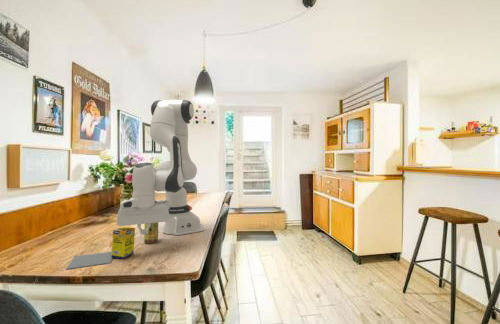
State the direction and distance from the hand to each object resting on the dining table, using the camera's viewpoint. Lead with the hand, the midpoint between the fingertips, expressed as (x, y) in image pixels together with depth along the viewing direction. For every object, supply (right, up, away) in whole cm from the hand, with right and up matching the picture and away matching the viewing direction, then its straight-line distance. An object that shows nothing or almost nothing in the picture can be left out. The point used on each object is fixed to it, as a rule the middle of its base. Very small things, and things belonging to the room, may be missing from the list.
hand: (144, 233), depth 101 cm
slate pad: (-17, -8, -7) cm, 20 cm away
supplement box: (-7, -8, -3) cm, 11 cm away
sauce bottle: (-3, -8, +14) cm, 17 cm away
